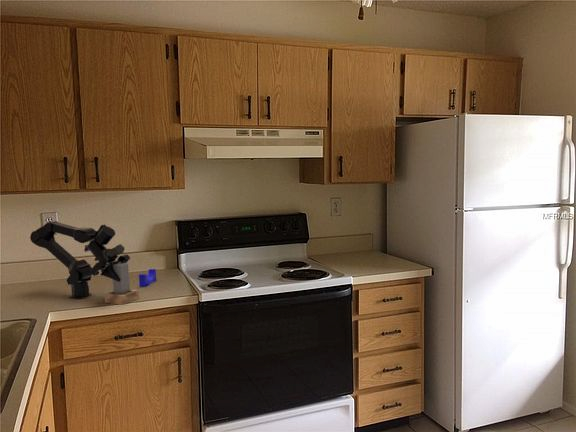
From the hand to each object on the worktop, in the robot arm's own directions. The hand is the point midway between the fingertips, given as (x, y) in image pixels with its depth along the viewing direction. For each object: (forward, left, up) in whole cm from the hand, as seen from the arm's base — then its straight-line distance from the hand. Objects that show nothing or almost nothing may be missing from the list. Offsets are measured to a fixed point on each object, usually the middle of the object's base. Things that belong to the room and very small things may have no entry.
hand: (123, 279), depth 198 cm
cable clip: (-9, +27, -9) cm, 29 cm away
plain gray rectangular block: (-1, 0, -7) cm, 7 cm away
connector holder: (-1, 0, -9) cm, 9 cm away
